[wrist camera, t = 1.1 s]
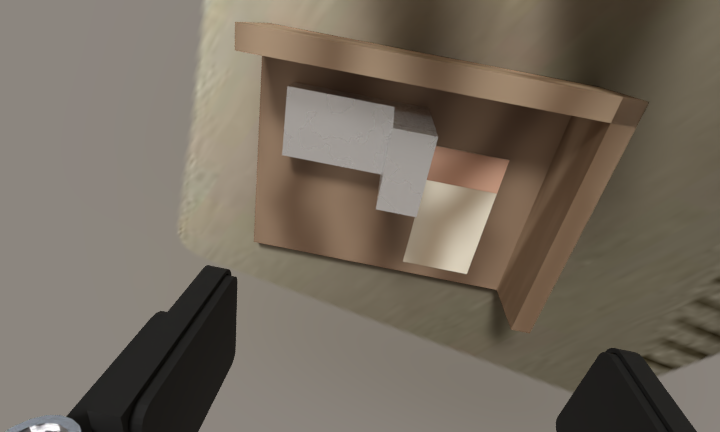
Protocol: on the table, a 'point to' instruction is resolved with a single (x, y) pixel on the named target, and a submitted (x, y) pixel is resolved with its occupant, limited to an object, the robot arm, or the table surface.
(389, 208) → the bracket
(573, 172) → the tray
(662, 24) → the table surface
